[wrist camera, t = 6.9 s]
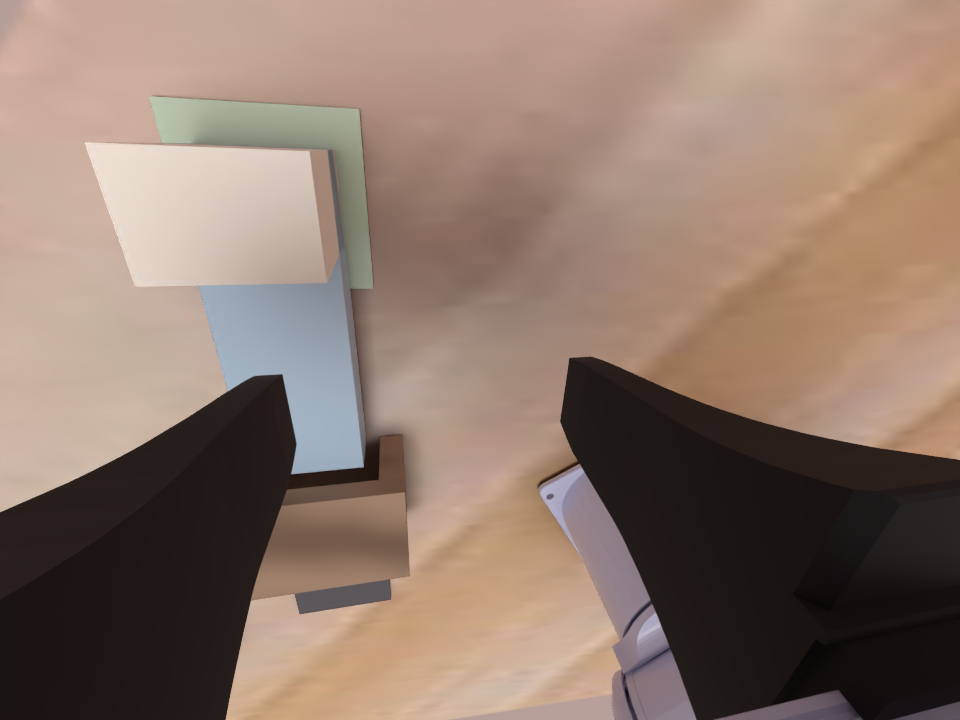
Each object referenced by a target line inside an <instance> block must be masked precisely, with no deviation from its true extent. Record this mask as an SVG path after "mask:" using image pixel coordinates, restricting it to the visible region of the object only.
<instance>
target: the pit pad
mask: <svg viewBox="0 0 960 720" xmlns="http://www.w3.org/2000/svg"><path fill="white" fill-rule="evenodd" d="M295 598H296V601H297V605H298V609H299V613H300V614H304V613H311V612H317V611H323V610H329V609H336V608H342V607H348V606H354V605H360V604H367V603H373V602H379V601H385V600H391V592H390V581H389V579H388V580H382V581H375V582H369V583H362V584H355V585H349V586H342V587H336V588H329V589H322V590H316V591H309V592H303V593H296V594H295Z"/></svg>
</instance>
